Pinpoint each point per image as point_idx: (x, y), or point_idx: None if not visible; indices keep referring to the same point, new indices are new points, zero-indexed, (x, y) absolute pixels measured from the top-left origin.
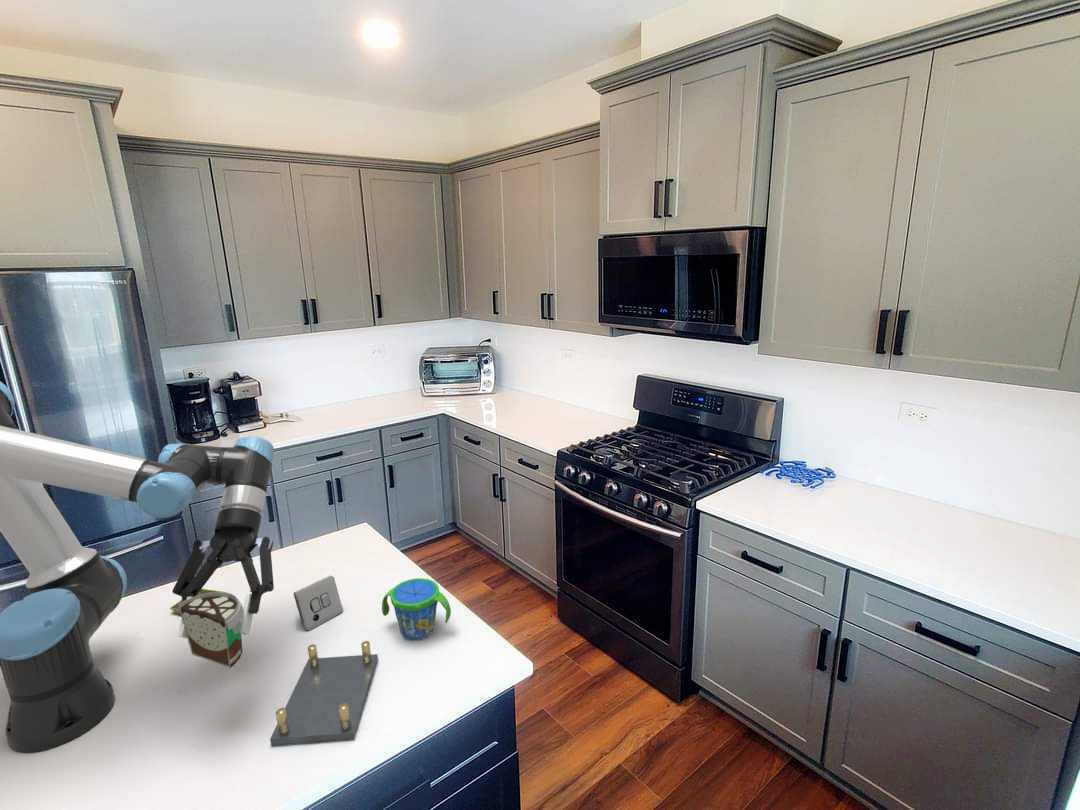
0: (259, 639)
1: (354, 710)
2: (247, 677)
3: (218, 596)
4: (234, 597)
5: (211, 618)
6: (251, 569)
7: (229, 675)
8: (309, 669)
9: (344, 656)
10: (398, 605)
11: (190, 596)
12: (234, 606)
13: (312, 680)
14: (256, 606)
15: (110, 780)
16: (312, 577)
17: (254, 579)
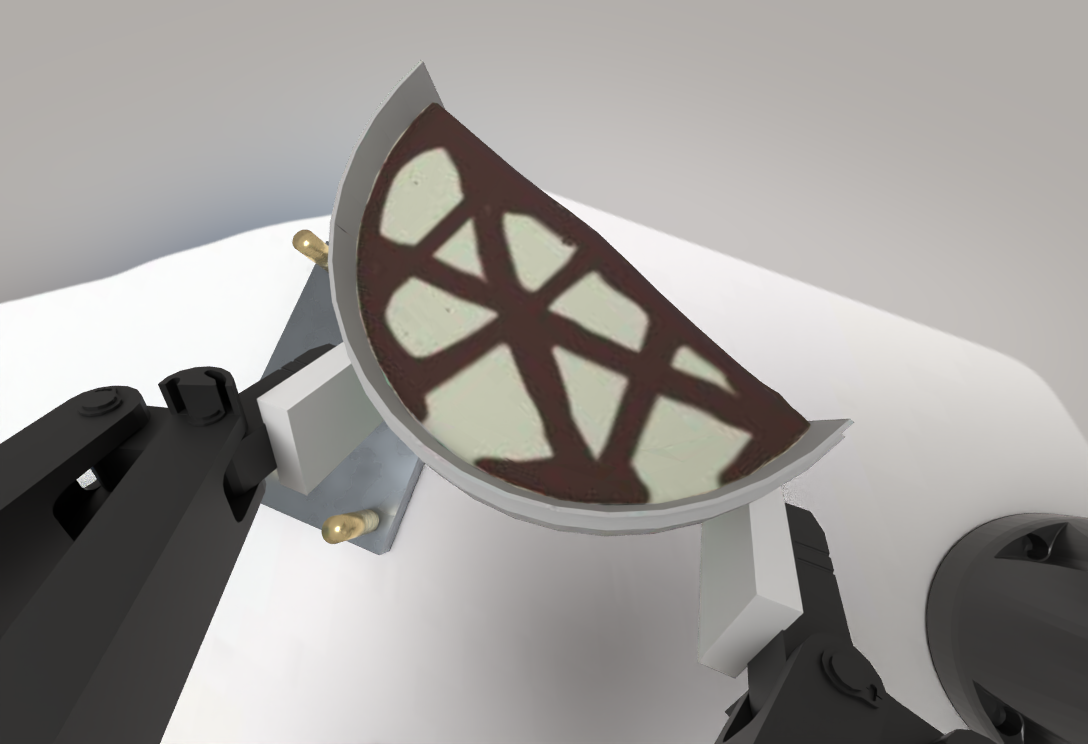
0: None
1: (310, 301)
2: (552, 579)
3: (501, 474)
4: (361, 351)
5: (530, 184)
6: (18, 629)
7: (603, 617)
8: (382, 501)
9: (289, 514)
10: None
11: (776, 654)
12: (380, 270)
13: (380, 449)
14: (296, 364)
15: (816, 337)
16: None
17: (120, 488)
